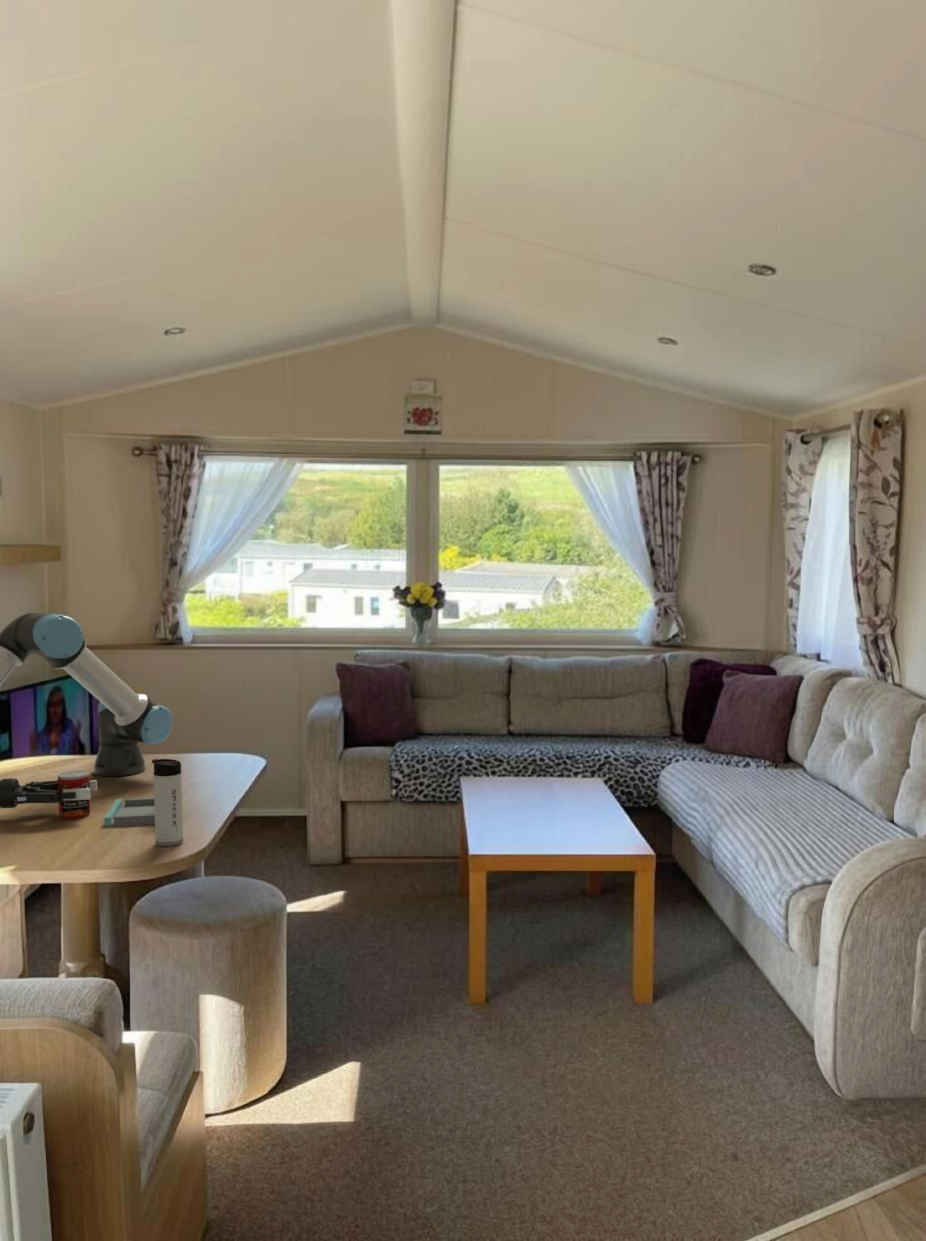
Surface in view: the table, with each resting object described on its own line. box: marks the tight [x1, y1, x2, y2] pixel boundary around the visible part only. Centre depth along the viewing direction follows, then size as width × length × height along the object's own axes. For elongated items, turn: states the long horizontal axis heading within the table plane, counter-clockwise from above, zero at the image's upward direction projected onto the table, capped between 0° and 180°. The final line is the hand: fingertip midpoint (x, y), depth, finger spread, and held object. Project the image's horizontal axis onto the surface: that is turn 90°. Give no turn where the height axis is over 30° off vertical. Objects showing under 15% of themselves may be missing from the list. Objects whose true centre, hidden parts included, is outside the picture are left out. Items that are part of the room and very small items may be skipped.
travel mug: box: [151, 758, 184, 847], centre depth 226 cm, size 6×7×20 cm
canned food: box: [57, 769, 91, 820], centre depth 250 cm, size 8×8×11 cm
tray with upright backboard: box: [103, 797, 155, 827], centre depth 250 cm, size 18×15×10 cm
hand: (93, 789), depth 251 cm, fingers closed on canned food, 8 cm apart
